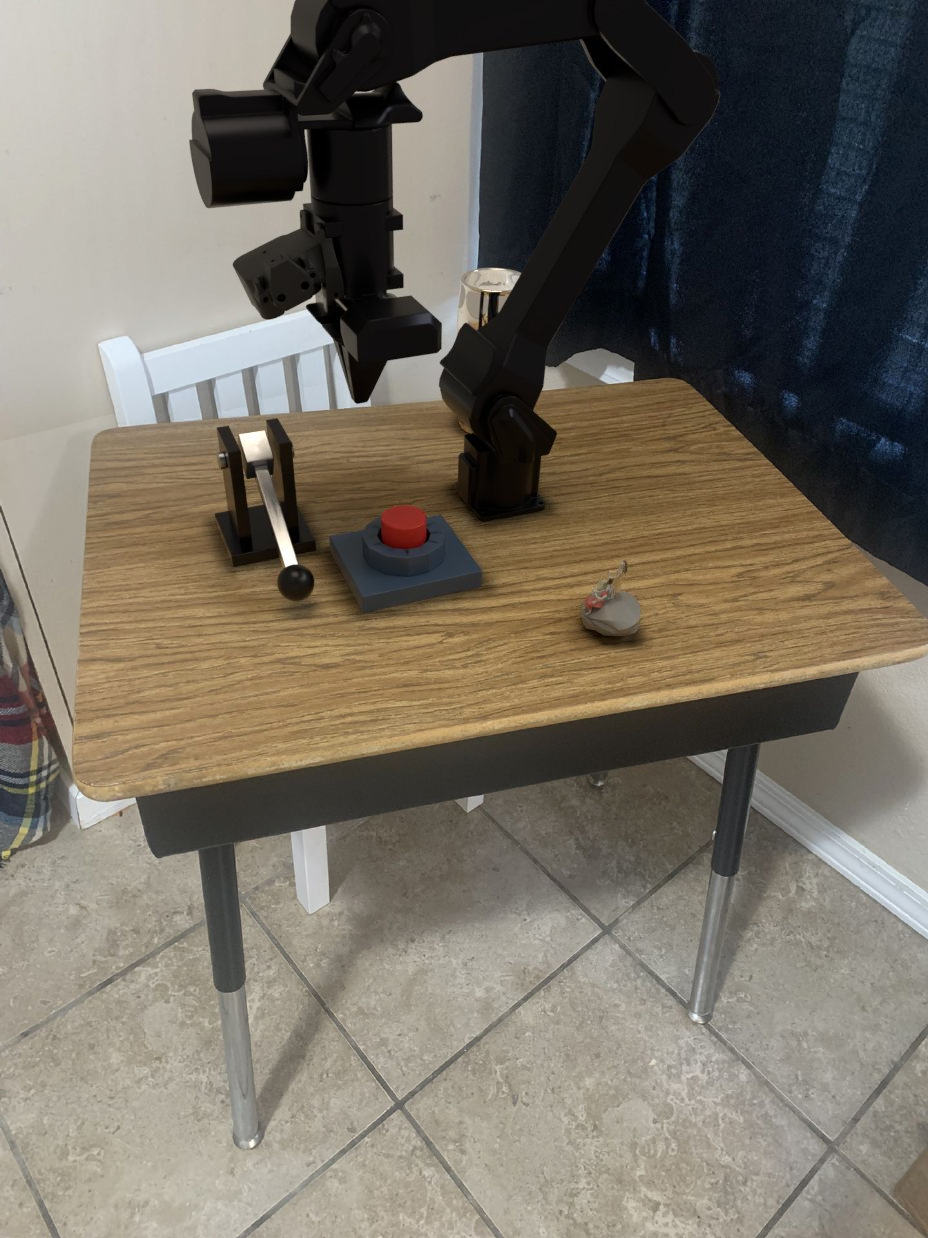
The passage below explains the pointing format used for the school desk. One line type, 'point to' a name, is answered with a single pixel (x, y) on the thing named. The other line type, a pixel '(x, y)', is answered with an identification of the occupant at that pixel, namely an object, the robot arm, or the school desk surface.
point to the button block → (403, 566)
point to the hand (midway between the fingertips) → (359, 401)
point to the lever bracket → (249, 525)
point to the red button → (403, 527)
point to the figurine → (611, 607)
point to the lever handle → (274, 514)
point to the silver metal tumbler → (483, 298)
